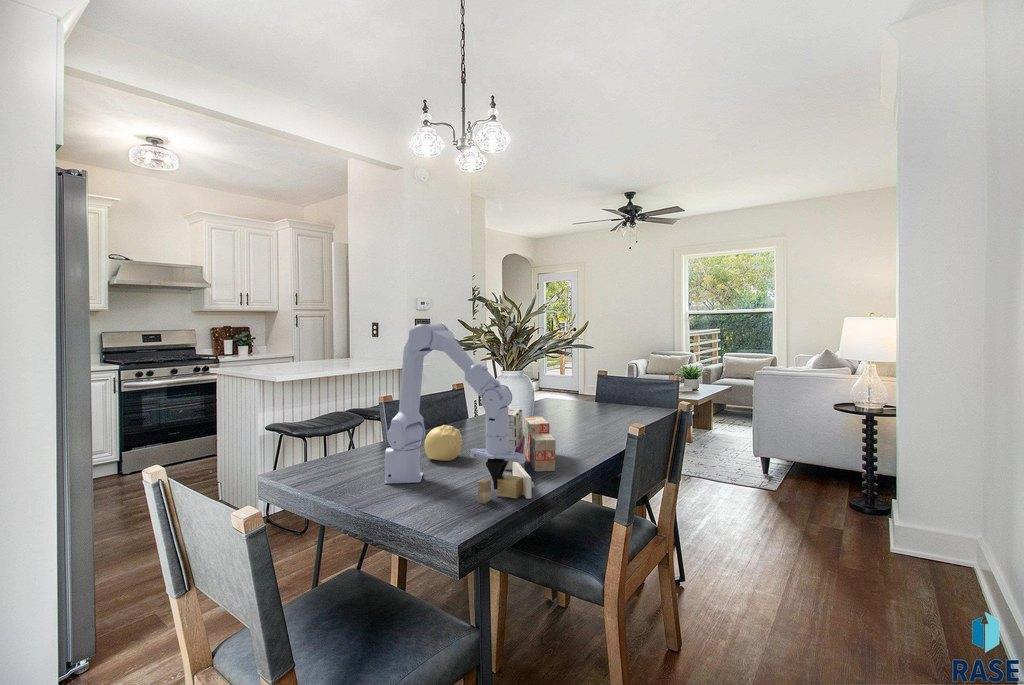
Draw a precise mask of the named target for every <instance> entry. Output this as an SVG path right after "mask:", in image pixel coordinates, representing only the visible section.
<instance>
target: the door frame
mask: <svg viewBox="0 0 1024 685" xmlns="http://www.w3.org/2000/svg"><path fill="white" fill-rule="evenodd" d="M520 465H521V467H522V468H523V469H524V470H525V462H524V463H523V464H520ZM511 476H513V462H512V470H511ZM491 500H492V478H481V479H479V480H478V481H477V503H479V504H484V505H485V504H487V503H488V502H490V501H491Z"/></svg>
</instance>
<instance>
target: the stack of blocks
mask: <svg viewBox="0 0 1024 685" xmlns="http://www.w3.org/2000/svg"><path fill="white" fill-rule="evenodd" d="M523 441H524V442H523V454H525V458H527V461H528V462H529V463H530V465H531V467H532V470H533V471H534V472H545V471H546V472H548V471H549V472H552V471H553V472H554V471H556V449H557V448H556V446H557V443H556V442H557V441H556V439H555V437H554V436H553V435H552V434H551V432H550V423H549V421H547V420H546V419H545V418H544V417H543V416H524V417H523Z"/></svg>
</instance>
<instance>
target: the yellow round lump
mask: <svg viewBox="0 0 1024 685" xmlns="http://www.w3.org/2000/svg"><path fill="white" fill-rule="evenodd" d="M460 431H461V430H460V429H458V428H456V427H454V426H452V425H446V424H443V425H441V426H437V427H434V428H433V429H431V430H430V431H429V432H428V433H427V435H425V438H424V451H425V454H426V455H427V457H428V458H429V459H431V460H436V461H442V462H443V461H444V462H445V461H446V462H448V461H453V460H454V459H456V458H457V457H459V454H460V453H461V450H462V449H463V446H462V445H463V437H462V434H461V432H460Z"/></svg>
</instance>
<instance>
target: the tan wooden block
mask: <svg viewBox="0 0 1024 685" xmlns="http://www.w3.org/2000/svg"><path fill="white" fill-rule="evenodd" d="M497 482H498V490H497V498H501V499H506V500H507V499H508V500H513V501H517V500H518V499H519V498H520V497H522V496H524V495H523V477H519V476H512V474H503V476H502V477H500V478H498V479H497Z"/></svg>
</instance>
